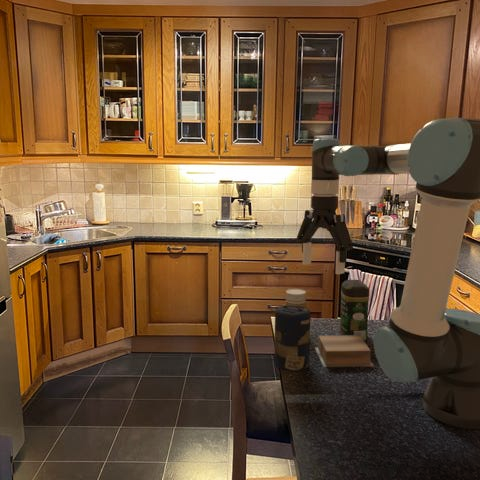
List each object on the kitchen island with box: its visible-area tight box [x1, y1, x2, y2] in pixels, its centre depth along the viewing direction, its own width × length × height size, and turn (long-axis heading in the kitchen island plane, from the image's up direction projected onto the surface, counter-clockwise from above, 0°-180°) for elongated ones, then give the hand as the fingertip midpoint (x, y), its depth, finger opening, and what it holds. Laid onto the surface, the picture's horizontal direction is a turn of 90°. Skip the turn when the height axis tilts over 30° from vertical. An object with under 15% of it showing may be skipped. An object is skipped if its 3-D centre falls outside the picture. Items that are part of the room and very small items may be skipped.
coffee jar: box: [339, 279, 370, 341], centre depth 150 cm, size 10×8×19 cm
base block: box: [317, 334, 372, 365], centre depth 135 cm, size 11×12×4 cm
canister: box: [273, 304, 312, 372], centre depth 130 cm, size 10×10×18 cm
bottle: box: [284, 288, 308, 308], centre depth 152 cm, size 7×7×15 cm
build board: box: [314, 346, 375, 368], centre depth 135 cm, size 18×15×1 cm
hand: (322, 268), depth 139 cm, fingers open, 13 cm apart
